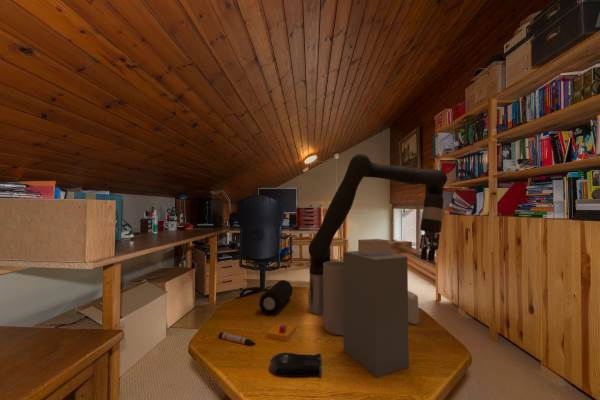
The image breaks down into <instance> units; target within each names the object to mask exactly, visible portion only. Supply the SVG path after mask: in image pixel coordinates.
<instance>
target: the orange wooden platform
mask: <svg viewBox="0 0 600 400" xmlns="http://www.w3.org/2000/svg"><path fill="white" fill-rule="evenodd" d="M295 333H296V327H295V326H291V325H290V326H289V325H285V324H278V323H276V324H275V325H274V326H272V328H270V329H269V330H268V331H267V332H266V339H271V340H275V341H276V340H277V341H282V342H289V340H290V339H291V338H292V336H293V335H294V334H295Z"/></svg>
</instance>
